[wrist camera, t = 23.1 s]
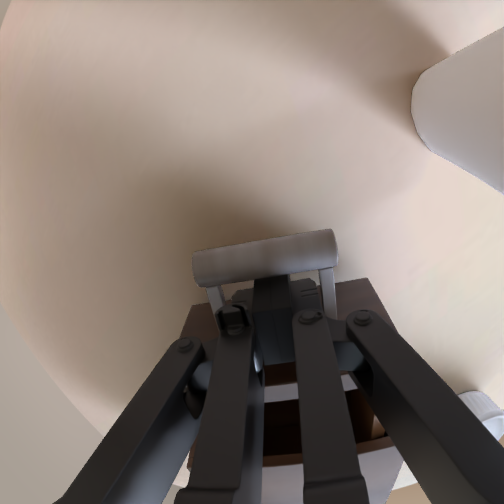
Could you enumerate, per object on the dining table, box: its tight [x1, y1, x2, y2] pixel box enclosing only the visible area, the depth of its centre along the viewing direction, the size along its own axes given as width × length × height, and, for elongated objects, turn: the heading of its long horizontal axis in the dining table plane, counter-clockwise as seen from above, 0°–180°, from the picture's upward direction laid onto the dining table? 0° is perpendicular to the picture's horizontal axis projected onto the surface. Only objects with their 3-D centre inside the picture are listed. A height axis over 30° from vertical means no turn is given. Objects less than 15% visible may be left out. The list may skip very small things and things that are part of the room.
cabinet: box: [187, 431, 404, 504], centre depth 21 cm, size 15×13×10 cm
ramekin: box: [457, 391, 504, 441], centre depth 24 cm, size 11×11×5 cm
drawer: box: [179, 229, 398, 456], centre depth 17 cm, size 19×11×8 cm, turn 11°
